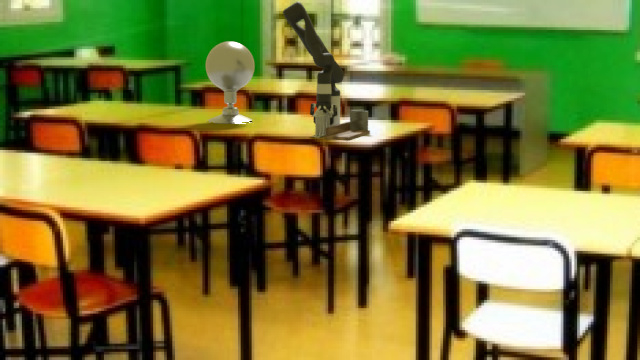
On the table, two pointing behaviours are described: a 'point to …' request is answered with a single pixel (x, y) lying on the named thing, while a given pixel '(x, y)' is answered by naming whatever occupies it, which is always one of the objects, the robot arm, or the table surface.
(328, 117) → the long lego plate
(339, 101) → the robot arm
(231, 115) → the desk lamp
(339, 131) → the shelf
